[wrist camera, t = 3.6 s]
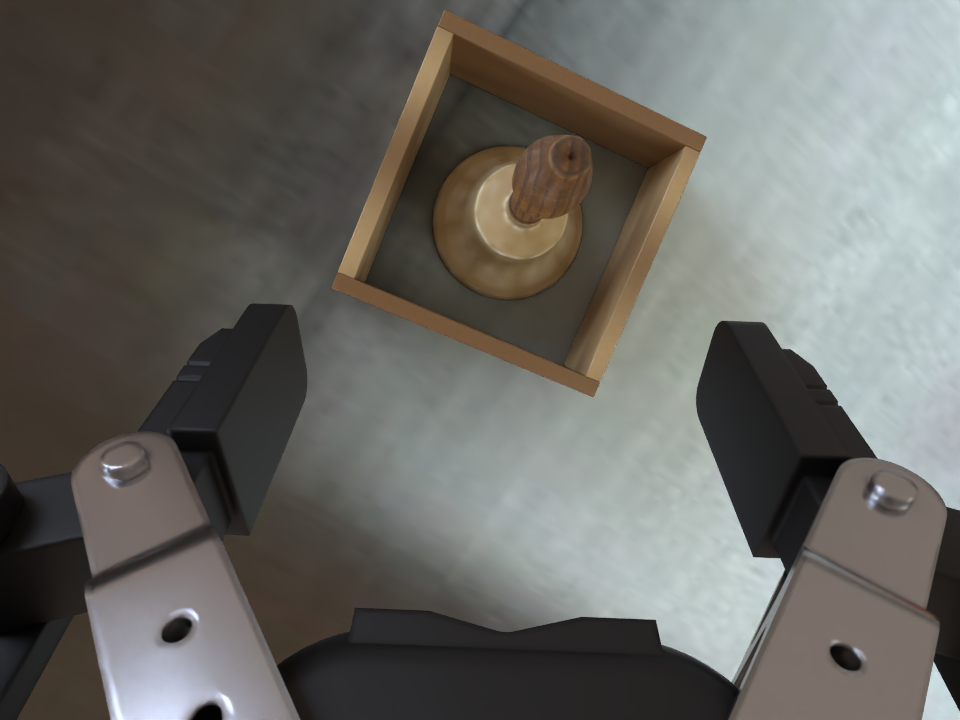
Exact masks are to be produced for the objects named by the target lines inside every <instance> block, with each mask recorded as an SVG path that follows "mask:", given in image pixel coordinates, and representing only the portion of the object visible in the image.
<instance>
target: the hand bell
mask: <svg viewBox="0 0 960 720" xmlns="http://www.w3.org/2000/svg"><path fill="white" fill-rule="evenodd" d="M592 178H593V164H592V159H591V149H590V147H589V145H588V144H587V143H586V142H585V141H584V140H583V138H581V137H578V136H575V135H561V134H555V135H549V136H545V137H542V138H540V139H538V140H536V141H535V142H534V143H532V144H531V145H530V146H529V147H528V148H527V149H526V148H522V147H516V146H498V147H492V148H488V149H485V150H482V151H480V152H477V153H475V154H473V155H471V156H470V157H468V158H467V159H465V160H464V161H462V162H461V163H460V164H459V165H458V166H457V167H456V168H455V169H454V170H453V171H452V172H451V173H450V174H449V176H448V177H447V178H446V180H445V181H444V183H443V185H442V187H441V189H440V191H439V193H438V196H437V199H436V202H435V206H434V212H433V232H434V239H435V243H436V247H437V249H438V252H439V254H440V257H441V259H442V261H443V262H444V264H445V265H446V267H447V268H448V270H449V271H450V272H451V273H452V274H453V275H454V277H455V278H456V279H457V280H458V281H460V282H461V283H462V284H463V285H465V286H466V287H467V288H469V289H470V290H472V291H474V292H476V293H478V294H481V295H483V296H486V297H490V298H495V299H501V300H514V299H522V298H527V297H530V296H533V295H535V294H538V293H540V292H542V291H544V290H546V289H547V288H549V287H550V286H552V285H553V284H554V283H555V282H557V281H558V280H559V279H560V278H561V277H562V276H563V275H564V274H565V272H566V271H567V270H568V268H569V267H570V265H571V264H572V262H573V260H574V258H575V256H576V254H577V252H578V249H579V246H580V242H581V238H582V230H583V218H582V209H581V205H580V203H581V202H582V200H583V199H584V198H585V196H586V194H587V193H588V191H589V189H590V186H591V183H592Z"/></svg>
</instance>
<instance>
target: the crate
mask: <svg viewBox="0 0 960 720" xmlns="http://www.w3.org/2000/svg"><path fill="white" fill-rule="evenodd" d="M449 74H451V75H453V76H455V77H458V78H460V79H462V80H464V81H466V82H468V83H470V84H472V85H475V86H477V87H479V88H481V89H483V90H485V91H487V92H489V93H491V94H494V95H496V96H498V97H500V98H502V99H504V100H506V101H508V102H510V103H513V104H515V105H517V106H519V107H521V108H523V109H525V110H527V111H530V112H532V113H534V114H536V115H538V116H540V117H542V118H544V119H546V120H549V121H551V122H553V123H555V124H557V125H559V126H561V127H563V128H566V129H568V130H570V131H572V132H574V133H576V134H578V135H580V136H582V137H585V138H587V139H589V140H591V141H593V142H595V143H597V144H599V145H601V146H604V147H606V148H608V149H610V150H612V151H614V152H616V153H618V154H621V155H623V156H625V157H627V158H629V159H631V160H633V161H635V162H637V163H640V164H642V165H644V166H646V167H648V168H649V169H648V170H647V173H646V175H645V177H644V180H643V182H642V184H641V187H640V189H639V191H638V194H637V196H636V198H635V201H634V203H633V205H632V208H631V210H630V212H629V214H628V217H627V219H626V221H625V224H624V226H623V228H622V231H621V233H620V235H619V238H618V240H617V242H616V245H615V247H614V249H613V252H612V254H611V256H610V258H609V261H608V263H607V265H606V268H605V270H604V272H603V275H602V277H601V279H600V282H599V284H598V286H597V289H596V291H595V293H594V296H593V298H592V300H591V303H590V305H589V307H588V309H587V312H586V314H585V316H584V319H583V321H582V323H581V326H580V328H579V330H578V333H577V335H576V337H575V340H574V342H573V344H572V347H571V349H570V351H569V353H568V356H567V358H566V360H565V363H564V366H563V365H560V364H558V363H555V362H553V361H551V360H548V359H546V358H544V357H541V356H539V355H536V354H534V353H532V352H529V351H527V350H525V349H522V348H520V347H517V346H515V345H513V344H510V343H508V342H506V341H503V340H501V339H498V338H496V337H494V336H491V335H489V334H487V333H484V332H482V331H479V330H477V329H475V328H472V327H470V326H468V325H465V324H463V323H461V322H458V321H456V320H453V319H451V318H449V317H446V316H444V315H442V314H439V313H437V312H434V311H432V310H430V309H427V308H425V307H423V306H420V305H418V304H415V303H413V302H411V301H408V300H406V299H404V298H401V297H399V296H396V295H394V294H392V293H389V292H387V291H385V290H382V289H380V288H377V287H375V286H373V285H370V284H368V283H366V282H365V280H366V278H367V276H368V273H369V271H370V268H371V266H372V263H373V261H374V258H375V256H376V253H377V251H378V249H379V246H380V244H381V241H382V239H383V236H384V234H385V231H386V229H387V227H388V224H389V222H390V219H391V217H392V214H393V212H394V209H395V207H396V204H397V202H398V200H399V197H400V195H401V192H402V190H403V187H404V185H405V182H406V180H407V178H408V175H409V173H410V170H411V168H412V165H413V163H414V160H415V158H416V156H417V153H418V151H419V148H420V146H421V143H422V141H423V138H424V136H425V133H426V131H427V129H428V126H429V124H430V121H431V119H432V116H433V114H434V111H435V109H436V107H437V104H438V102H439V99H440V97H441V94H442V92H443V89H444V87H445V84H446V82H447V80H448V77H449ZM705 140H706V136H704V135H702V134H700V133H698V132H696V131H694V130H691V129H689V128H687V127H685V126H683V125H681V124H679V123H677V122H675V121H673V120H671V119H669V118H667V117H665V116H663V115H661V114H659V113H656V112H654V111H652V110H650V109H648V108H646V107H644V106H642V105H640V104H638V103H636V102H634V101H632V100H630V99H628V98H626V97H623V96H621V95H619V94H617V93H615V92H613V91H611V90H609V89H607V88H605V87H603V86H601V85H599V84H597V83H595V82H593V81H591V80H588V79H586V78H584V77H582V76H580V75H578V74H576V73H574V72H572V71H570V70H568V69H566V68H564V67H562V66H560V65H558V64H555V63H553V62H551V61H549V60H547V59H545V58H543V57H541V56H539V55H537V54H535V53H533V52H531V51H529V50H527V49H525V48H523V47H520V46H518V45H516V44H514V43H512V42H510V41H508V40H506V39H504V38H502V37H500V36H498V35H496V34H494V33H492V32H490V31H487V30H485V29H483V28H481V27H479V26H477V25H475V24H473V23H471V22H469V21H467V20H465V19H463V18H461V17H459V16H457V15H455V14H452V13H450V12H448V11H446V10H444V11H443V14H442V16H441V19H440V21H439V24H438V27H437V29H436V31H435V33H434V36H433V38H432V41H431V43H430V46H429V48H428V51H427V53H426V56H425V58H424V61H423V63H422V66H421V68H420V70H419V73H418V75H417V78H416V80H415V83H414V85H413V88H412V90H411V93H410V95H409V98H408V100H407V103H406V105H405V108H404V110H403V112H402V115H401V117H400V120H399V122H398V125H397V127H396V130H395V132H394V135H393V137H392V140H391V142H390V145H389V147H388V149H387V152H386V154H385V157H384V159H383V162H382V164H381V167H380V169H379V172H378V174H377V177H376V179H375V182H374V184H373V186H372V189H371V191H370V194H369V196H368V199H367V201H366V204H365V206H364V209H363V211H362V214H361V216H360V219H359V221H358V223H357V226H356V228H355V231H354V233H353V236H352V238H351V241H350V243H349V246H348V248H347V251H346V253H345V256H344V258H343V261H342V263H341V265H340V268H339V270H338V273H337V275H336V278H335V280H334V283H333V285H332V289H335V290H337V291H340V292H342V293H344V294H347V295H349V296H352V297H354V298H356V299H359V300H361V301H364V302H366V303H368V304H371V305H373V306H375V307H378V308H380V309H383V310H385V311H387V312H390V313H392V314H395V315H397V316H399V317H402V318H404V319H407V320H409V321H411V322H414V323H416V324H419V325H421V326H423V327H426V328H428V329H431V330H433V331H435V332H438V333H440V334H443V335H445V336H447V337H450V338H452V339H455V340H457V341H459V342H462V343H464V344H467V345H469V346H471V347H474V348H476V349H479V350H481V351H483V352H486V353H488V354H490V355H493V356H495V357H498V358H500V359H502V360H505V361H507V362H510V363H512V364H514V365H517V366H519V367H522V368H524V369H526V370H529V371H531V372H534V373H536V374H538V375H541V376H543V377H546V378H548V379H550V380H553V381H555V382H558V383H560V384H562V385H565V386H567V387H570V388H572V389H574V390H577V391H579V392H582V393H584V394H586V395H589V396H591V397H594V395H595V393H596V391H597V388H598V386H599V384H600V383H599V382H600V381H601V379H602V377H603V374H604V372H605V370H606V367H607V365H608V363H609V361H610V358H611V356H612V354H613V351H614V349H615V347H616V345H617V342H618V340H619V338H620V335H621V333H622V331H623V329H624V326H625V324H626V322H627V319H628V317H629V315H630V312H631V310H632V308H633V306H634V303H635V301H636V299H637V296H638V294H639V292H640V290H641V287H642V285H643V283H644V280H645V278H646V276H647V273H648V271H649V269H650V267H651V264H652V262H653V260H654V257H655V255H656V253H657V251H658V248H659V246H660V244H661V241H662V239H663V237H664V234H665V232H666V230H667V228H668V225H669V223H670V221H671V218H672V216H673V214H674V212H675V209H676V207H677V205H678V202H679V200H680V198H681V195H682V193H683V191H684V189H685V186H686V184H687V182H688V179H689V177H690V175H691V173H692V170H693V168H694V166H695V163H696V161H697V159H698V156H699V154H700V153H699V152H700V151H701V149H702V147H703V145H704V143H705Z"/></svg>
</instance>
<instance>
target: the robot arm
mask: <svg viewBox="0 0 960 720" xmlns="http://www.w3.org/2000/svg"><path fill="white" fill-rule="evenodd" d="M306 392H307V369H306V364H305V358H304V353H303V347H302V342H301V336H300V331H299V325H298V320H297V315H296V312H295V309H294V308H293V306H292V305H280V304H250V305H249V306H248V307H247V308H246V310H245V311H244V313H243V314H242V316H241V317H240V319H239V320H238V322H237V323H236V325H235V327H234V328H233V329H224V328H222V329H221V330H219V331H218V332H216V333H215V334H213V335H212V336H210V337H209V338H208V339H206V340H205V341H203V342H202V343H200V344H199V346H198V347H197V349H196V350H195V351H194V353H193V354H192V356H191V357H190V358H189V360H188V361H187V365H184V367H183V368H182V370H181V371H180V372H179V374H178V375H177V380H176V381H175V380H174V381H173V382H172V384H171V385H170V386H169V388H168V389H167V391H166V392H165V393H164V395H163V396H162V398H161V399H160V401H159V402H158V403H157V405H156V406H155V408H154V409H153V410H152V412H151V413H150V415H149V416H148V417H147V419H146V420H145V422H144V423H143V424H142V426H141V427H140V429H139V430H138V431H137V432H131V433H126V434H123V435H120V436H116V437H114V438H111V439H109V440H107V441H105V442H103V443H101V444H99V445H98V446H96V447H95V448H93V449H92V450H90V451H89V452H88V453H87V454H85V455H84V456H83V457H82V458H81V459H80V460H79V462H78V463H77V465H76V466H75V468H74V470H73V472H70V473H65V474H60V475H54V476H49V477H44V478H39V479H34V480H28V481H23V482H18V483H14V482H13V480H12V478H11V477H10V475H9V474H8V472H7V471H6V469H5V467H3V466H2V465H1V464H0V720H17V718H18V716H19V714H20V712H21V711H22V709H23V707H24V705H25V703H26V702H27V700H28V698H29V696H30V694H31V692H32V691H33V689H34V687H35V685H36V683H37V681H38V680H39V678H40V676H41V674H42V672H43V671H44V669H45V667H46V665H47V663H48V661H49V660H50V658H51V656H52V654H53V652H54V651H55V649H56V647H57V645H58V643H59V641H60V640H61V638H62V636H63V634H64V632H65V630H66V629H67V627H68V625H69V623H70V621H71V620H72V618H73V616H74V615H77V614H81V613H86V612H88V614H89V619H90V623H91V628H92V633H93V638H94V642H95V647H96V652H97V657H98V661H99V666H100V671H101V675H102V680H103V685H104V690H105V694H106V699H107V704H108V709H109V713H110V718H111V720H922V716H923V711H924V706H925V701H926V696H927V691H928V686H929V681H930V675H931V670H932V665H933V661H934V663H935V665H936V667H937V669H938V671H939V672H940V674H941V676H942V678H943V680H944V682H945V684H946V686H947V688H948V690H949V692H950V694H951V696H952V697H953V699H954V701H955V703H956V705H957V707H958V709H959V711H960V511H959V510H956V509H952V508H949V507H946V505H945V503H944V501H943V499H942V498H941V496H940V495H939V494H938V492H937V491H936V490H935V489H934V488H933V487H932V486H931V485H930V484H929V483H927V482H926V481H925V480H924V479H922V478H921V477H920V476H918V475H917V474H915V473H913V472H911V471H910V470H908V469H906V468H904V467H902V466H899V465H897V464H894V463H891V462H888V461H885V460H881V459H877V457H876V456H875V454H874V453H873V451H872V450H871V448H870V447H869V446H868V444H867V443H866V441H865V440H864V438H863V437H862V436H861V434H860V433H859V431H858V430H857V428H856V427H855V425H854V424H853V423H852V421H851V420H850V418H849V417H848V415H847V414H846V412H845V411H844V410H843V408H842V407H841V406H838V401H837V400H836V398H835V397H834V395H833V394H832V392H831V391H830V390H827V385H826V384H825V382H824V381H823V379H822V378H821V377H820V375H819V374H818V372H817V371H816V369H815V368H814V367H813V366H812V365H811V364H809V363H808V362H807V361H805V360H804V359H803V358H801V357H800V356H799V355H797V354H796V353H795V352H793V351H792V350H791V349H782V348H781V347H780V345H779V344H778V342H777V341H776V339H775V338H774V336H773V335H772V333H771V332H770V330H769V328H768V327H767V326H766V324H764V323H762V322H741V321H721V322H719V323H718V324H717V326H716V328H715V330H714V333H713V336H712V340H711V343H710V346H709V350H708V353H707V357H706V360H705V363H704V367H703V370H702V373H701V377H700V380H699V383H698V387H697V394H696V407H697V413H698V417H699V420H700V423H701V425H702V428H703V430H704V433H705V435H706V438H707V440H708V443H709V445H710V448H711V451H712V453H713V456H714V458H715V461H716V463H717V466H718V468H719V471H720V473H721V476H722V479H723V481H724V484H725V486H726V489H727V491H728V494H729V496H730V499H731V501H732V504H733V506H734V509H735V512H736V514H737V517H738V519H739V522H740V524H741V527H742V529H743V532H744V534H745V537H746V540H747V542H748V545H749V547H750V550H751V552H752V555H753V557H764V558H781V561H782V563H783V565H784V568H785V571H784V572H783V574H782V576H781V578H780V580H779V582H778V584H777V586H776V589H775V591H774V593H773V595H772V597H771V599H770V602H769V604H768V606H767V608H766V610H765V612H764V614H763V617H762V619H761V621H760V623H759V625H758V627H757V630H756V632H755V634H754V636H753V638H752V640H751V643H750V645H749V647H748V649H747V651H746V653H745V655H744V658H743V660H742V662H741V664H740V666H739V668H738V670H737V672H736V674H735V676H734V678H733V680H732V682H730V681H729V680H728V679H726V678H725V677H724V676H722V675H721V674H719V673H718V672H716V671H715V670H714V669H712V668H711V667H709V666H708V665H706V664H704V663H702V662H700V661H699V660H697V659H695V658H693V657H691V656H689V655H687V654H685V653H682V652H680V651H678V650H675V649H673V648H670V647H667V646H664V645H661V642H660V637H659V633H658V628H657V624H656V620H644V619H619V618H594V617H579V618H575V619H570V620H565V621H561V622H556V623H551V624H547V625H542V626H537V627H533V628H528V629H523V630H519V631H514V632H499V631H495V630H492V629H488V628H485V627H482V626H478V625H475V624H471V623H468V622H465V621H461V620H458V619H455V618H451V617H448V616H444V615H441V614H438V613H434V612H431V611H420V610H395V609H370V608H355V611H354V616H353V620H352V625H351V630H350V632H346V633H342V634H338V635H335V636H332V637H329V638H326V639H323V640H320V641H318V642H316V643H314V644H312V645H310V646H308V647H305V648H303V649H302V650H300V651H298V652H297V653H295V654H293V655H292V656H290V657H288V658H287V659H285V660H284V661H283V662H281V663H280V664H279V665H276V663H275V661H274V659H273V656H272V654H271V652H270V650H269V647H268V645H267V643H266V641H265V638H264V636H263V634H262V632H261V629H260V627H259V625H258V623H257V620H256V618H255V616H254V614H253V611H252V609H251V607H250V605H249V602H248V600H247V598H246V596H245V593H244V591H243V589H242V587H241V584H240V582H239V580H238V578H237V575H236V573H235V571H234V568H233V566H232V564H231V562H230V559H229V557H228V555H227V553H226V550H225V548H224V546H223V544H222V540H223V538H224V536H225V535H250V533H251V530H252V528H253V525H254V523H255V520H256V518H257V516H258V513H259V511H260V508H261V506H262V503H263V501H264V499H265V496H266V494H267V491H268V489H269V486H270V484H271V481H272V479H273V477H274V474H275V472H276V469H277V467H278V464H279V462H280V460H281V457H282V455H283V452H284V450H285V447H286V445H287V443H288V440H289V438H290V435H291V433H292V430H293V428H294V425H295V423H296V421H297V418H298V416H299V413H300V411H301V408H302V406H303V404H304V401H305V397H306Z"/></svg>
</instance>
